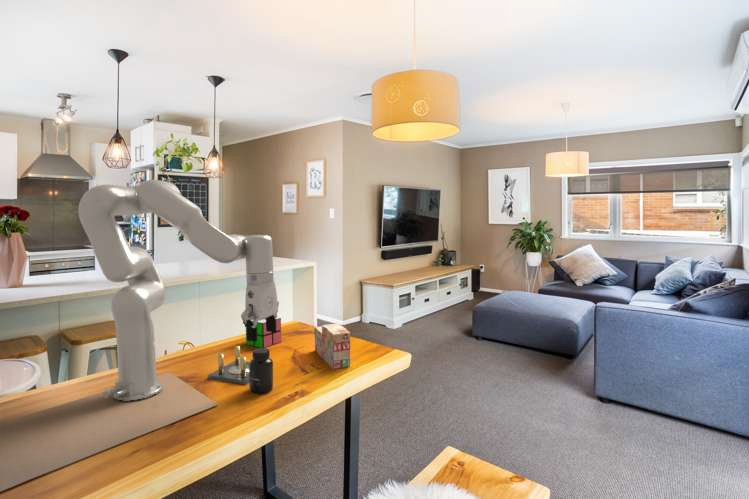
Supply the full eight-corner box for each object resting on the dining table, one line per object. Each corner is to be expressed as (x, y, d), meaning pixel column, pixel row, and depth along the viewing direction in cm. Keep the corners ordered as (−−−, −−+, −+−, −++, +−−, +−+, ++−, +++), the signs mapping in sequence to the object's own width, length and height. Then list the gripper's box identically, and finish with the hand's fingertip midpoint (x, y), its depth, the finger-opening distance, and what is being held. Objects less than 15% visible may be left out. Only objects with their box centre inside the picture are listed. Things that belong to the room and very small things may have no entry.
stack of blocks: (314, 350, 161) (314, 319, 160) (330, 348, 163) (329, 317, 162) (333, 369, 141) (333, 333, 140) (350, 366, 144) (350, 331, 143)
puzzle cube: (281, 342, 171) (281, 317, 170) (263, 348, 162) (262, 323, 161) (264, 338, 176) (264, 314, 175) (245, 344, 168) (244, 319, 167)
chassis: (245, 384, 129) (245, 361, 128) (208, 378, 133) (207, 356, 132) (271, 368, 142) (270, 347, 141) (236, 363, 146) (235, 343, 146)
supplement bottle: (249, 396, 121) (248, 355, 120) (249, 386, 127) (248, 347, 126) (273, 393, 123) (273, 353, 121) (273, 384, 129) (272, 345, 128)
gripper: (253, 283, 112) (255, 346, 114) (287, 274, 128) (288, 329, 130) (229, 282, 115) (232, 343, 116) (265, 273, 131) (267, 327, 132)
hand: (262, 336), depth 123 cm, fingers open, 9 cm apart
